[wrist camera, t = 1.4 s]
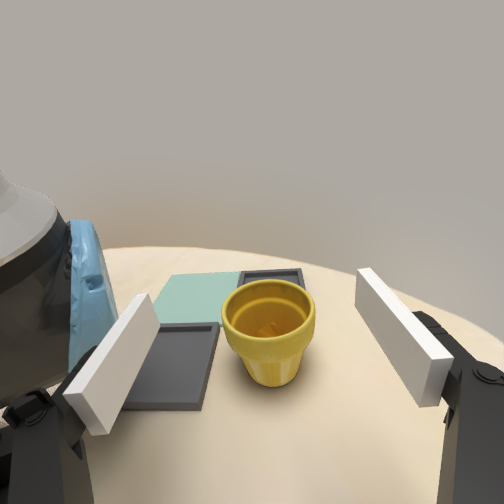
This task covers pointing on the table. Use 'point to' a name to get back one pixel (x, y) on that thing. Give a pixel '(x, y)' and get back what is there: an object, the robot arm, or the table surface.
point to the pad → (195, 297)
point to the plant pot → (269, 328)
